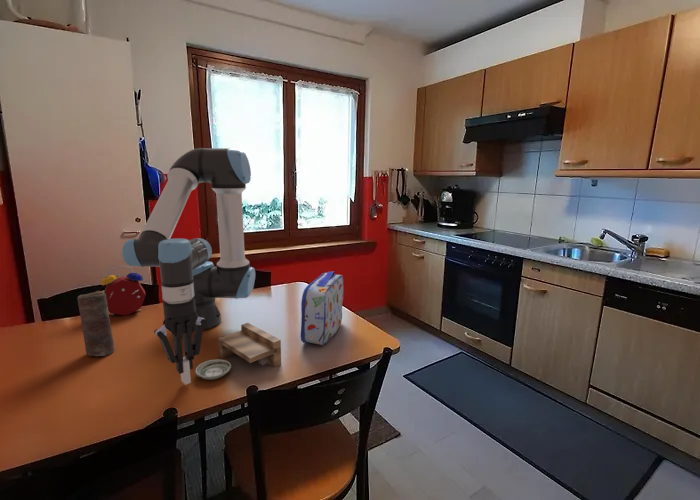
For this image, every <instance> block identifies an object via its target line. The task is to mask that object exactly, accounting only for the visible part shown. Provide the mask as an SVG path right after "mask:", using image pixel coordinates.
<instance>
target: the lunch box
mask: <svg viewBox="0 0 700 500" xmlns="http://www.w3.org/2000/svg"><path fill="white" fill-rule="evenodd" d="M343 300H344V276H343V275H342V274H335V271H327V272H322V273H321V274H320V275H319V276H318V277H317V278H315V279H314V280H312V282H310V283H309V284H307V285H306V287H305V288H304V290H303V292H302V297H301V304H300V306H301V307H300V308H301V309H300V311H301V314H300V315H301V317H300V318H301V319H300V320H301V322H300V336H299V337H300V340H301V342H302V343H303V344H304V343H309V344H316V345H320V346H324V345H326V343H328V342H329V340H331V339H332V338H333V336H335V335H336V334H337V331H338V329H339V328H340V327H341V324H342V320H343V302H344V301H343Z"/></svg>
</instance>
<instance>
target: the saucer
mask: <svg viewBox="0 0 700 500" xmlns="http://www.w3.org/2000/svg"><path fill="white" fill-rule="evenodd" d="M231 369H232V363H230V361H228V360H226V359H218V358H217V359H209V360H206V361H204V362H201V363H200V364H198V366H196V367H195V371H194V372H195V375H196V376H197V377H199V378H202V379H204V380H217V379H219V378H222V377H223V376H225V375H227V374H228V373H229V372H230V371H231Z"/></svg>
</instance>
